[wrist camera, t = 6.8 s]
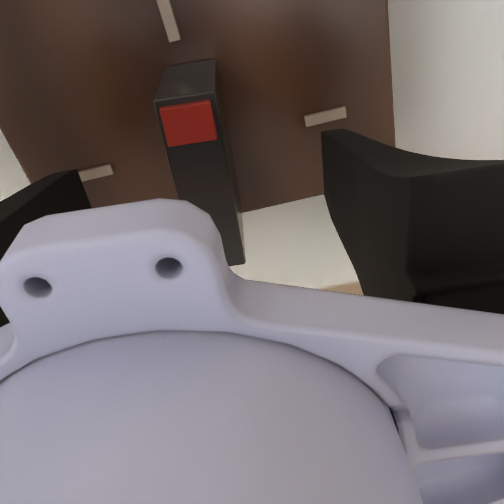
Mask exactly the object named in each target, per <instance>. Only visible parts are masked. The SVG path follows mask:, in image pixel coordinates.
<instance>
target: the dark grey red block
mask: <svg viewBox="0 0 504 504" xmlns="http://www.w3.org/2000/svg"><path fill="white" fill-rule="evenodd" d="M153 103H154V107H155V111H156V115H157V119H158V123H159V127H160V131H161V135H162V138H163V142H164V146H165V150H166V154H167V158H168V162H169V166H170V169H171V173H172V177H173V181H174V185H175V189H176V193H177V197H178V200H185V201H188V202H190V203H191V204H193V205H195V206H196V207H198V208H200V209H201V210H203V211H205V212H206V213H208V214H209V215H210V217H211V218H212V220H213V222H214V224H215V226H216V227H217V229H218V231H219V233H220V235H221V240H222V245H223V249H224V254H225V258H226V261H227V263H228V266H234V265H241V264H245V262H246V260H245V248H244V236H243V223H242V211H241V205H240V199H239V193H238V187H237V181H236V175H235V170H234V164H233V158H232V152H231V146H230V140H229V135H228V129H227V123H226V117H225V111H224V105H223V100H222V94H221V88H220V82H219V76H218V70H217V65H216V61H215V60H214V59H212V60H206V61H199V62H193V63H187V64H180V65H174V66H168V67H166V68H165V71H164V73H163V76H162V79H161V81H160V84H159V86H158V89H157V92H156V94H155V97H154V100H153Z"/></svg>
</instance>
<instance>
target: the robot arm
mask: <svg viewBox="0 0 504 504" xmlns="http://www.w3.org/2000/svg"><path fill="white" fill-rule="evenodd" d="M321 143H322V162H323V181H324V195H325V199H326V203H327V206H328V210H329V213H330V217H331V219H332V222H333V224H334V226H335V228H336V230H337V233H338V235H339V237H340V239H341V241H342V243H343V245H344V247H345V250H346V252H347V254H348V256H349V258H350V260H351V262H352V264H353V266H354V269H355V271H356V274H357V276H358V279H359V282H360V285H361V288H362V291H363V294H364V296H363V295H356V294H348V293H341V292H334V291H326V290H319V289H312V288H304V287H297V286H289V285H282V284H274V283H267V282H260V281H252V280H245V279H243V278H241V277H239V276H238V275H236V274H234V273H233V272H232V270H231V269H230V268H229V266H228V263H227V261H226V258H225V254H224V249H223V245H222V240H221V235H220V233H219V231H218V229H217V227H216V226H215V224H214V222H213V220H212V218H211V217H210V215H209V214H208V213H206V212H205V211H203V210H201V209H200V208H198V207H196V206H195V205H193V204H191V203H190V202H188V201H185V200H173V199H161V198H158V199H152V200H145V201H138V202H132V203H125V204H118V205H112V206H105V207H99V208H92V207H91V204H90V202H89V199H88V196H87V194H86V191H85V189H84V186H83V183H82V181H81V178H80V176H79V173H78V170H77V169H74V170H68V171H61V172H56V173H53V174H50V175H48V176H45V177H43V178H41V179H39V180H38V181H36V182H34V183H32V184H30V185H29V186H27V187H25V188H24V189H22V190H20V191H18V192H17V193H15V194H13V195H12V196H10V197H8V198H6V199H5V200H3V201H1V202H0V504H504V160H460V159H449V158H440V157H433V156H427V155H422V154H418V153H413V152H409V151H405V150H402V149H398V148H395V147H392V146H389V145H386V144H383V143H381V142H378V141H375V140H373V139H370V138H368V137H365V136H363V135H361V134H358V133H356V132H353V131H351V130H348V129H343V128H341V129H335V130H328V131H322V132H321Z"/></svg>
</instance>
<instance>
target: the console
mask: <svg viewBox="0 0 504 504" xmlns="http://www.w3.org/2000/svg"><path fill="white" fill-rule="evenodd" d="M212 59H214V60H215V61H216V65H217V70H218V76H219V82H220V88H221V94H222V100H223V105H224V111H225V117H226V123H227V129H228V135H229V140H230V146H231V152H232V158H233V164H234V170H235V175H236V181H237V187H238V193H239V199H240V205H241V211H242V213H244V212H248V211H252V210H257V209H261V208H265V207H270V206H274V205H278V204H283V203H287V202H291V201H296V200H300V199H304V198H309V197H313V196H317V195H322V194H324V181H323V162H322V143H321V132H322V131H328V130H335V129H341V128H343V129H348V130H351V131H353V132H356V133H358V134H361V135H363V136H365V137H368V138H370V139H373V140H375V141H378V142H381V143H383V144H386V145H389V146H392V147H395V148H396V146H395V128H394V110H393V91H392V73H391V55H390V37H389V18H388V0H0V129H1V131H2V133H3V134H4V136H5V138H6V140H7V142H8V143H9V145H10V147H11V149H12V150H13V152H14V154H15V156H16V158H17V159H18V161H19V163H20V165H21V166H22V168H23V170H24V172H25V174H26V175H27V177H28V179H29V181H30V183H31V184H32V183H34V182H36V181H38V180H39V179H41V178H43V177H45V176H48V175H50V174H53V173H56V172H61V171H68V170H74V169H77V170H78V173H79V176H80V178H81V181H82V183H83V186H84V189H85V191H86V194H87V196H88V199H89V202H90V204H91V207H92V208H99V207H105V206H112V205H118V204H125V203H132V202H138V201H145V200H152V199H158V198H161V199H173V200H178V197H177V193H176V189H175V185H174V181H173V177H172V173H171V169H170V166H169V162H168V158H167V154H166V150H165V146H164V142H163V138H162V135H161V131H160V127H159V123H158V119H157V115H156V111H155V107H154V103H153V100H154V97H155V94H156V92H157V89H158V86H159V84H160V81H161V79H162V76H163V73H164V71H165V68H166V67H168V66H174V65H180V64H187V63H193V62H199V61H206V60H212Z"/></svg>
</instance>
